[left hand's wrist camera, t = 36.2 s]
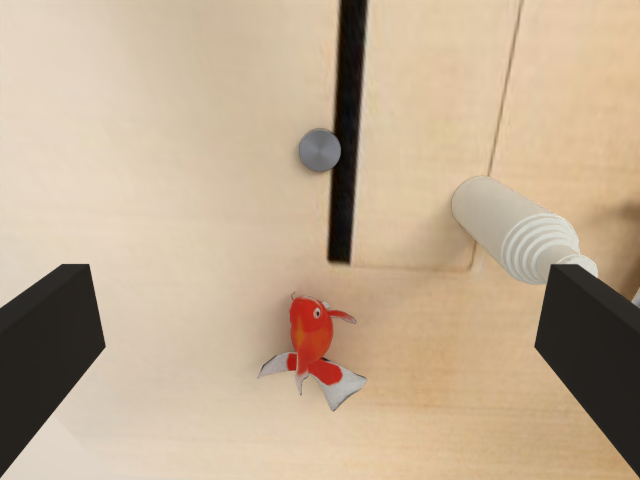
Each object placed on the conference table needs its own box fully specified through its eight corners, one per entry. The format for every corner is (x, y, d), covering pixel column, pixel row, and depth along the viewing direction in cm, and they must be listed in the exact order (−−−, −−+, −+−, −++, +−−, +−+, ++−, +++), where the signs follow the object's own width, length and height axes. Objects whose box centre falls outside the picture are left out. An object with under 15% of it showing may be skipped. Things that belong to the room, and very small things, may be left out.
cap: (321, 119, 41) (321, 120, 40) (348, 150, 42) (349, 153, 41) (291, 146, 42) (290, 149, 40) (318, 176, 43) (318, 180, 41)
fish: (399, 295, 42) (366, 383, 35) (369, 373, 53) (340, 450, 47) (299, 256, 44) (249, 331, 38) (290, 338, 56) (251, 407, 49)
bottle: (509, 220, 45) (623, 305, 28) (456, 234, 45) (536, 325, 28) (502, 169, 43) (619, 226, 26) (446, 184, 43) (527, 250, 26)
